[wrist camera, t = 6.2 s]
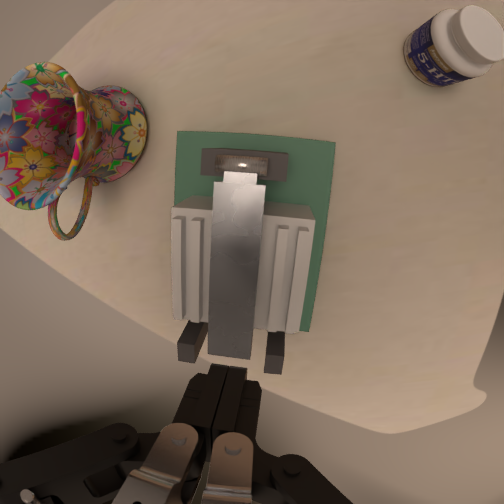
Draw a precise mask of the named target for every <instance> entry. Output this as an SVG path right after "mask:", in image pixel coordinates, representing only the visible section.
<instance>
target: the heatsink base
mask: <svg viewBox="0 0 504 504" xmlns="http://www.w3.org/2000/svg"><path fill="white" fill-rule="evenodd" d="M335 144H336V143H335V142H327V141H319V140H311V139H302V138H293V137H283V136H272V135H259V134H244V133H225V132H194V131H177V146H176V168H175V199H174V206H173V207H171V271H172V304H173V317H174V319H176V320H183V319H187V320H189V321H188V323H187V325H186V327H185V329H184V331H183V333H182V334H181V336H180V338H179V340H178V342H177V347H178V360H179V361H183V362H189V363H195V362H196V359H197V357H198V354H199V352H200V349H201V347H202V344H203V342H204V339H205V337H206V334H207V332H208V309H209V276H210V250H211V228H212V209H213V192H214V182H215V181H223V179H224V173H218V172H215V158H216V155H234V156H248V157H261V158H268V171H267V176H259V175H258V181H257V184H263V185H266V194H265V205H264V217H263V228H262V240H261V251H260V262H259V273H258V284H257V295H256V306H255V317H254V328H256V329H265V330H267V331H268V337H267V347H266V356H265V366H264V373H271V374H281V373H282V367H283V361H284V346H285V333H288V334H294V332H296V333H299V331H305V332H309V328H310V323H311V318H312V312H313V307H314V301H315V295H316V289H317V283H318V277H319V271H320V265H321V258H322V252H323V245H324V238H325V231H326V223H327V216H328V208H329V200H330V192H331V183H332V174H333V165H334V155H335Z"/></svg>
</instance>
